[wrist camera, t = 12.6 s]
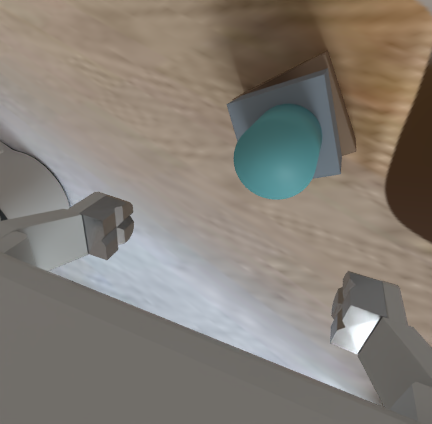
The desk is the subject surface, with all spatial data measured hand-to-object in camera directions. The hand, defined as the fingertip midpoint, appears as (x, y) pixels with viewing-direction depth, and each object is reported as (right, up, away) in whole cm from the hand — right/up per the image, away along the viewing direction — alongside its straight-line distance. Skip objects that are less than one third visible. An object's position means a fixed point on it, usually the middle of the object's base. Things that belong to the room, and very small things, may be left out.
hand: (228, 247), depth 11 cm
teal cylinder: (+5, +7, +11) cm, 14 cm away
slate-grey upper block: (+6, +9, +14) cm, 18 cm away
